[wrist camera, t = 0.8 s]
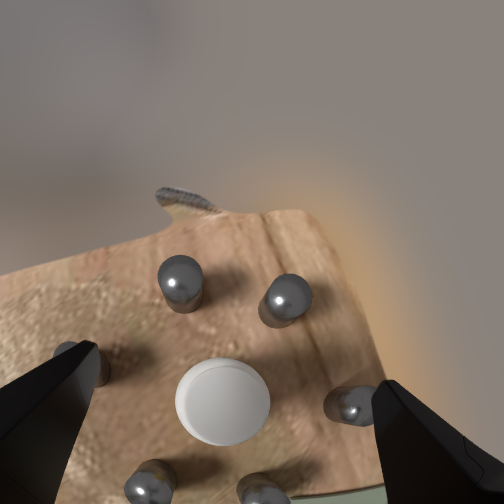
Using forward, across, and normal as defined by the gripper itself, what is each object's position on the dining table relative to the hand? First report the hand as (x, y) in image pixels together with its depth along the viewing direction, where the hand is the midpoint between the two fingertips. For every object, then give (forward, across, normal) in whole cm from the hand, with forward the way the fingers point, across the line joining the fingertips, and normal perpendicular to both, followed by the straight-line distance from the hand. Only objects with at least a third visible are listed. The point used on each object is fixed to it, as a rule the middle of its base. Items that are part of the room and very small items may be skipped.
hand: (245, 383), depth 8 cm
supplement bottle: (+9, 0, +12) cm, 15 cm away
